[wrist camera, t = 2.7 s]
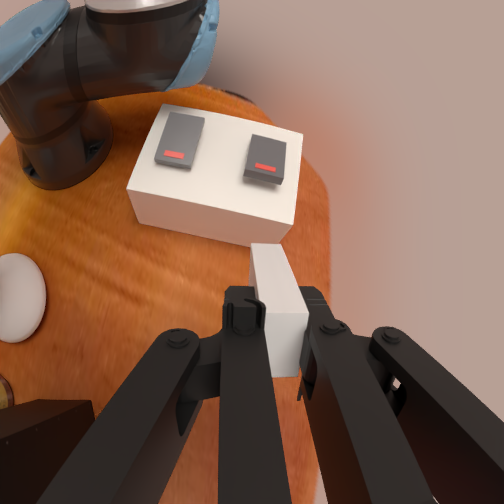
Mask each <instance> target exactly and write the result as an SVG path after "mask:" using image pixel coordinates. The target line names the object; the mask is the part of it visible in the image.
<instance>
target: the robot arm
mask: <svg viewBox="0 0 504 504" xmlns="http://www.w3.org/2000/svg"><path fill="white" fill-rule="evenodd" d="M218 21H219V1H218V0H85V6H82V7H77V8H73V9H70V3H69V2H68V1H67V0H42V1H39V2H37V3H35V4H33V5H31V6H29V7H27V8H25V9H24V10H22V11H21V12H19V13H18V14H16V15H14V16H13V17H12V18H10V19H9V20H8V21H7V22H5V23H4V24H3V25H2V26H1V27H0V115H1V117H2V118H3V120H4V122H5V123H6V124H7V126H8V128H9V129H10V131H11V132H12V134H13V135H14V137H15V139H16V144H17V150H18V155H19V160H20V165H21V167H22V170H23V172H24V173H25V174H26V176H27V177H28V178H29V180H30V181H31V182H32V183H33V184H34V185H36V186H38V187H40V188H43V189H47V190H58V189H64V188H67V187H70V186H73V185H75V184H77V183H79V182H81V181H82V180H84V179H85V178H87V177H88V176H90V175H91V174H92V173H93V172H94V171H95V170H96V169H97V168H98V167H99V166H100V165H101V164H102V162H103V161H104V160H105V158H106V156H107V155H108V153H109V151H110V148H111V145H112V141H113V129H112V125H111V122H110V118H109V116H108V114H107V112H106V111H105V109H104V108H103V107H102V106H101V105H100V104H99V103H98V102H97V101H96V100H98V99H104V98H110V97H117V96H124V95H131V94H139V93H148V92H157V91H160V92H165V91H169V90H170V89H177V88H185V87H191V86H193V85H195V84H197V83H199V82H200V81H201V79H203V77H204V76H205V74H206V72H207V70H208V68H209V65H210V62H211V59H212V56H213V51H214V47H215V43H216V37H217V32H216V29H217V26H218ZM299 367H300V368H301V371H302V377H301V382H300V387H299V391H298V396H297V401H300V400H301V395H303V399H304V403H305V408H306V412H307V416H308V420H309V424H310V428H311V433H312V437H313V441H314V445H315V449H316V454H317V458H318V462H319V466H320V471H321V475H322V479H323V483H324V488H325V492H326V497H327V501H328V504H438V503H439V504H504V422H503V421H502V420H501V419H499V418H498V417H497V416H496V415H495V414H494V413H493V412H492V411H491V410H490V409H489V408H488V407H487V406H486V405H485V404H484V403H482V402H481V401H480V400H479V399H478V398H477V397H476V396H475V395H474V394H473V393H472V392H471V391H469V390H468V389H467V388H466V387H465V386H464V385H463V384H462V383H461V382H459V381H458V380H457V379H456V378H455V377H454V376H453V375H452V374H451V373H450V372H448V371H447V370H446V369H445V368H444V367H443V366H442V365H441V364H440V363H438V362H437V361H436V360H435V359H434V358H433V357H432V356H431V355H429V354H428V353H427V352H426V351H425V350H424V349H422V348H421V347H420V346H419V345H418V344H417V343H416V342H414V341H413V340H412V339H411V338H410V337H409V336H408V335H406V334H405V333H404V332H402V331H401V330H399V329H396V328H394V327H379V328H377V329H376V330H374V332H373V334H372V337H364V336H358V335H354V334H352V332H351V330H350V328H349V327H348V326H347V325H346V324H345V323H343V322H342V321H340V320H336V319H335V318H334V316H333V314H332V312H331V310H330V308H329V306H328V305H327V302H326V301H325V300H324V297H323V295H322V293H321V292H320V291H319V290H318V289H316V288H315V287H314V286H298V285H297V282H296V280H295V277H294V275H293V272H292V270H291V267H290V265H289V263H288V260H287V258H286V255H285V253H284V251H283V248H282V246H281V244H261V243H251V250H250V269H249V286H229V288H228V289H227V290H226V291H225V298H224V304H223V317H222V329H221V330H220V332H218V333H217V334H215V335H213V336H211V337H206V338H201V339H199V337H198V335H197V334H196V333H194V332H193V331H190V330H187V329H179V328H177V329H170V330H167V331H165V332H163V333H161V334H160V335H159V336H158V337H157V338H156V340H155V341H154V342H153V344H152V345H151V346H150V348H149V349H148V350H147V352H146V353H145V354H144V356H143V357H142V358H141V360H140V361H139V362H138V363H137V365H136V366H135V367H134V369H133V370H132V371H131V373H130V374H129V375H128V377H127V378H126V379H125V381H124V382H123V383H122V385H121V386H120V387H119V389H118V390H117V391H116V393H115V394H114V396H113V397H112V398H111V400H110V401H109V402H108V404H107V405H106V406H105V408H104V409H103V410H102V412H101V413H100V414H99V416H98V417H97V419H96V420H95V421H94V423H93V424H92V425H91V427H90V428H89V430H88V431H87V432H86V434H85V435H84V436H83V438H82V439H81V441H80V442H79V443H78V445H77V446H76V448H75V449H74V450H73V452H72V453H71V454H70V456H69V457H68V459H67V460H66V461H65V463H64V464H63V466H62V467H61V469H60V470H59V471H58V473H57V474H56V476H55V477H54V478H53V480H52V481H51V483H50V484H49V486H48V487H47V488H46V490H45V491H44V493H43V494H42V496H41V497H40V499H39V500H38V501H37V503H36V504H158V502H159V500H160V498H161V496H162V493H163V491H164V489H165V487H166V485H167V482H168V480H169V478H170V476H171V474H172V471H173V469H174V467H175V465H176V462H177V460H178V458H179V456H180V454H181V451H182V449H183V447H184V445H185V442H186V440H187V438H188V436H189V433H190V431H191V429H192V427H193V424H194V422H195V420H196V417H197V415H198V413H199V411H200V408H201V406H202V403H203V400H204V399H209V398H214V397H218V396H220V410H219V455H218V504H292V502H291V495H290V489H289V483H288V476H287V470H286V464H285V457H284V451H283V445H282V438H281V432H280V425H279V419H278V413H277V406H276V400H275V394H274V387H273V381H272V377H298V372H299ZM395 378H397V380H398V381H399V382H400V383H401V384H400V386H399V388H398V389H397V388H396V387H395V386H394V385H393V382H394V380H395ZM432 495H433V496H434V497H435V499H436V500H437V501H438V503H437V502H436V501H435V500H434V498H433V496H432Z"/></svg>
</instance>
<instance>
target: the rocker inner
mask: <svg viewBox="0 0 504 504" xmlns="http://www.w3.org/2000/svg"><path fill="white" fill-rule="evenodd" d="M204 123H205V118H203V117H198V116H193V115H187V114H181V113H176V112H170V113H169V116H168V119H167V121H166V124H165V127H164V130H163V133H162V136H161V139H160V141H159V144H158V147H157V150H156V154H155V157H154V160H155V162H156V163H162V164H167V165H172V166H177V167H182V168H187V169H191V167H192V164H193V160H194V157H195V153H196V150H197V147H198V143H199V140H200V136H201V133H202V130H203V127H204Z"/></svg>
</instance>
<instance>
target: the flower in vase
mask: <svg viewBox="0 0 504 504" xmlns="http://www.w3.org/2000/svg"><path fill="white" fill-rule="evenodd" d="M45 304H46V289H45V283H44V279H43V276H42V273H41V271H40V269H39V268H38V266H37V265H36V263H35V262H34V261H33V260H32V259H30V258H29V257H27V256H25V255H23V254H19V253H11V254H5V255H2V256H0V340H2V341H4V342H8V343H16V342H20V341H23V340H25V339H26V338H28V337H29V336H30V335H31V334H32V333H33V332H34V331H35V330H36V328H37V327H38V325H39V323H40V321H41V319H42V316H43V313H44V309H45Z"/></svg>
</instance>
